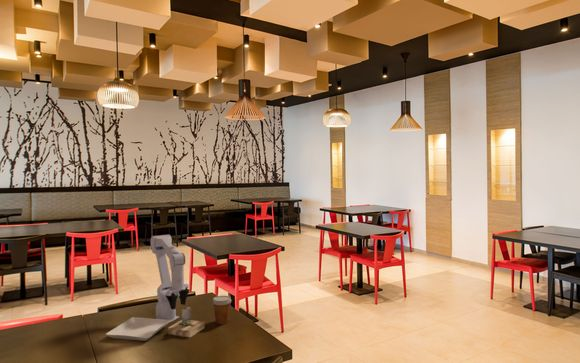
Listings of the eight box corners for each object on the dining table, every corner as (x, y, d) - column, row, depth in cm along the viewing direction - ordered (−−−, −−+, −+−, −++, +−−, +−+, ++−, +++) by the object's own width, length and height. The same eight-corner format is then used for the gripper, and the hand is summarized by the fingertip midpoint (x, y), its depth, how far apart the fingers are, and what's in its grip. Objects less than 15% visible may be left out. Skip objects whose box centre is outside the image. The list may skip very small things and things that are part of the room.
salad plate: (147, 344, 172) (147, 337, 171) (104, 341, 176) (104, 333, 176) (171, 326, 192) (171, 319, 192) (132, 323, 197) (132, 316, 196)
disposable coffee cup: (233, 318, 201) (233, 295, 201) (228, 325, 192) (228, 301, 192) (215, 318, 202) (215, 295, 202) (210, 325, 193) (209, 300, 193)
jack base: (168, 334, 182) (168, 326, 182) (183, 324, 193) (183, 317, 193) (190, 337, 178) (189, 330, 178) (204, 328, 189) (204, 320, 189)
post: (181, 323, 185) (181, 308, 185) (185, 321, 188) (185, 306, 187) (187, 324, 184) (187, 309, 184) (191, 322, 186) (191, 307, 186)
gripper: (175, 282, 181) (175, 312, 181) (193, 275, 195) (193, 303, 195) (162, 281, 184) (163, 310, 184) (181, 274, 197) (182, 301, 197)
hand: (178, 306), depth 189 cm, fingers open, 7 cm apart
